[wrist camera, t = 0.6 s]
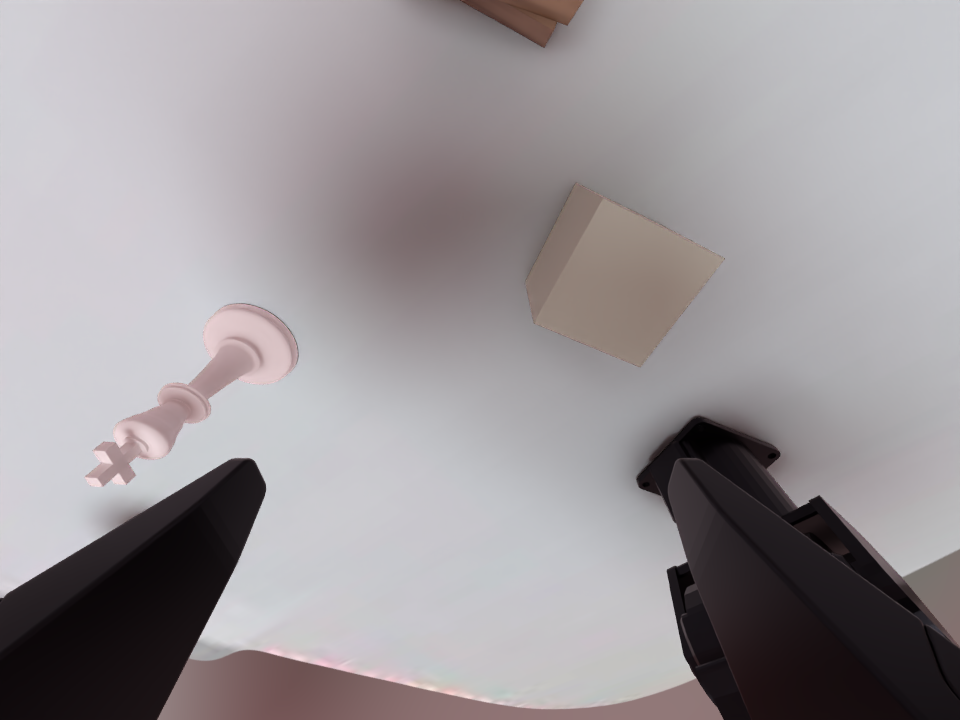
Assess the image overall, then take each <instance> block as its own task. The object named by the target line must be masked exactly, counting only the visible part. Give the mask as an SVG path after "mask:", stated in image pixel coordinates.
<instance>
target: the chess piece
mask: <svg viewBox="0 0 960 720" xmlns="http://www.w3.org/2000/svg"><path fill="white" fill-rule="evenodd" d="M203 340H204V344H205V347H206V350H207V352H208V354H209V355H210V357H211V358H212V360H211V361H210V362H209V363H208V365H207V366H206V367H205V368H204V369H203V370H202V371H201V372H200V373H199V374H198V376H197V377H196V378H195V379H194V380H192V381H191V382H190V383H189V385H187V384H183V383H169V384H167V385H165V386H163V387H162V389H161V390H160V392H159V394H158V403H159V405H160V406H158V407H155V408H152V409H150V410H148V411H146V412H143V413H141V414H137V415H134V416H131V417H129V418H126V419H124V420H122V421H120V422H119V423H117V424H116V425H115V427H114V430H113V436H114V439H115V441H116V442H117V444H118V445H119V446H120V448H119V447H118V445H117V444H116V442H103V443H101V444H100V445H99V446H97V447H96V448H95V449H94V450H92V451H93V452H94V454H95V455H96V457H97V458H98V460H99V461H100V463H101V464H100V465H98V466H97V467H96V468H95V469H94V470H92V471H91V472H90V473H89V474H88V475H86V476H85V477H84V478H85V479H86V480H87V482H88V483H89V485H90V486H99V487H103V486H104V485H105V484H107V483H108V482H109V481H110V480H111V479H112V481H113V482H114V484H124V485H126V484H127V483H129V482H130V481H131V480H132V479H133V478H134V477H135V476H136V475H135V473H134V471H133V470H132V468H131V466H130V465H129V463H130V462H131V461H132V460H133V459H135V458H136V457H138V458H142V459H149V460H154V459H160V458H163V457H164V456H166V455H167V454H168V453H169V452H170V450H171V449H172V447H173V445H174V443H175V440H176V437H177V435H178V433H179V432H180V430H181V429H182V427H183V424H184V423H198V422H201V421H202V420H205V419H206V418H207V417H208V416H209V415H210V413H211V406H210V403H209V401H208V399H209V398H210V397H212V396H213V395H214V394H216V393H217V392H218V391H220V390H221V389H223V388H224V387H226V386H227V385H229V384H230V383H232V382H233V381H235V380H236V379H238V380H241V381H244V382H247V383H251V384H260V385H262V384H271V383H274V382H277V381H279V380H281V379H282V378H283V377H285V376H286V375H287V374H289V373H290V372H291V371H292V370H293V368H294V367H295V365H296V362H297V358H298V350H297V345H296V342H295V339H294V337H293V335H292V334H291V332H290V331H289V329H288V328H287V327H286V326H285V325H284V324H283V323H282V322H281V321H280V320H279V319H278V318H277V317H275V316H274V315H273V314H271V313H269V312H268V311H266V310H264V309H261V308H259V307H256V306H252V305H247V304H232V305H227V306H225V307H222V308H221V309H219V310H218V311H217V312H215V314H214V315H213V316H211V317H210V318H209V320H208V321H207V323H206V325H205V327H204V331H203Z"/></svg>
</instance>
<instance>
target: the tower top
mask: <svg viewBox="0 0 960 720" xmlns="http://www.w3.org/2000/svg"><path fill="white" fill-rule="evenodd" d="M499 1H502V2H505V3H507V4H510V5H513V6H516V7H518V8H521V9H524V10H526V11H529V12H532V13H535V14H537V15H540V16H543V17H545V18H548V19H551V20H554V21H556V22H559V23H562V24H564V25H568V24H569V22H570V21H571V19H572V18H573V16H574V15H575V13H576V11H577V10H578V8H579V7H580V5H581V4H582V2H583V1H584V0H499Z"/></svg>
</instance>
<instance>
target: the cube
mask: <svg viewBox="0 0 960 720" xmlns="http://www.w3.org/2000/svg"><path fill="white" fill-rule="evenodd" d="M724 259H725V258H723V257H721V256H719V255H717V254H715V253H713V252H711V251H710V250H708V249H706V248H704V247H702V246H700V245H698V244H696V243H694V242H693V241H691V240H689V239H687V238H685V237H683V236H681V235H679V234H677V233H675V232H674V231H672V230H670V229H668V228H666V227H664V226H662V225H660V224H658V223H656V222H654V221H652V220H650V219H648V218H646V217H644V216H642V215H640V214H638V213H636V212H634V211H632V210H630V209H628V208H626V207H624V206H622V205H620V204H618V203H616V202H614V201H612V200H610V199H608V198H606V197H604V196H602V195H600V194H598V193H596V192H594V191H592V190H590V189H588V188H586V187H584V186H582V185H580V184H578V183H575V185H574V187H573V189H572V191H571V193H570V195H569V197H568V199H567V201H566V203H565V205H564V207H563V209H562V211H561V213H560V215H559V217H558V219H557V221H556V222H555V224H554V226H553V228H552V230H551V232H550V234H549V236H548V238H547V240H546V242H545V244H544V246H543V248H542V250H541V252H540V254H539V256H538V258H537V260H536V262H535V264H534V266H533V268H532V269H531V271H530V273H529V275H528V277H527V279H526V281H525V284H526V289H527V293H528V298H529V303H530V308H531V313H532V318H533V322H534V324H537V325H539V326H541V327H544V328H546V329H549V330H551V331H553V332H556V333H558V334H561V335H563V336H566V337H568V338H570V339H573V340H575V341H578V342H580V343H582V344H585V345H587V346H590V347H592V348H594V349H597V350H599V351H602V352H604V353H607V354H609V355H611V356H614V357H616V358H619V359H621V360H623V361H626V362H628V363H631V364H633V365H635V366H638V367H641V366H642V365H643V363H644V362H645V361H646V359H647V358H648V357H649V356H650V354H651V353H652V352H653V350H654V349H655V348H656V347H657V345H658V344H659V343H660V341H661V340H662V339H663V338H664V336H665V335H666V334H667V332H668V331H669V330H670V329H671V327H672V326H673V325H674V323H675V322H676V321H677V320H678V318H679V317H680V316H681V314H682V313H683V312H684V311H685V309H686V308H687V307H688V305H689V304H690V303H691V302H692V300H693V299H694V298H695V296H696V295H697V294H698V293H699V291H700V290H701V289H702V287H703V286H704V285H705V284H706V282H707V281H708V280H709V278H710V277H711V276H712V275H713V273H714V272H715V271H716V269H717V268H718V267H719V266H720V264H721V263H722V262H723V260H724Z"/></svg>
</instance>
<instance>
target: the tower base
mask: <svg viewBox="0 0 960 720" xmlns="http://www.w3.org/2000/svg"><path fill="white" fill-rule="evenodd" d="M460 1H462V2H464V3H466V4H467V5H469V6H471V7H473V8H474V9H476V10H478V11H480V12H482V13H483V14H485V15H487V16H489V17H490V18H492V19H494V20H496V21H498V22H499V23H501V24H503V25H505V26H506V27H508V28H510V29H512V30H514V31H515V32H517V33H519V34H521V35H522V36H524V37H526V38H528V39H529V40H531V41H533V42H535V43H537V44H538V45H540V46H542V47H545V45H546V44H547V42H548V40H549V38H550V36H551V35H552V33H553V31H554V29H555V26H556V24H557V22H556V21H554V20H551V19H548V18H545V17H543V16H540V15H537V14H535V13H532V12H529V11H526V10H524V9H521V8H518V7H516V6H513V5H510V4H507V3H505V2H502V1H499V0H460Z"/></svg>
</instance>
